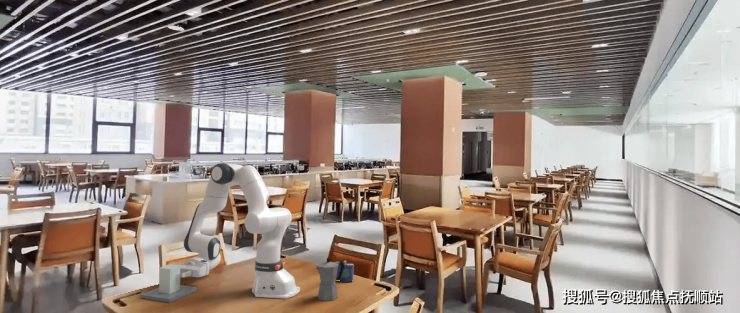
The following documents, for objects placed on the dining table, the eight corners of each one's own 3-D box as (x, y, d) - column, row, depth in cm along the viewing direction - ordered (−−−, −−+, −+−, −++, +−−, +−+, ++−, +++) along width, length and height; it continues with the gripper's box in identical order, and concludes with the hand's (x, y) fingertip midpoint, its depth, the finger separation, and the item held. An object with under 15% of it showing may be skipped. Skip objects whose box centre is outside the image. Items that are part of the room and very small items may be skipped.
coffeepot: (320, 303, 164) (321, 262, 164) (309, 297, 171) (310, 257, 171) (349, 296, 173) (350, 257, 173) (338, 290, 180) (339, 253, 181)
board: (196, 290, 176) (197, 277, 176) (170, 302, 161) (170, 288, 161) (169, 286, 181) (169, 274, 181) (140, 298, 165) (140, 284, 165)
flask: (353, 280, 196) (354, 260, 196) (353, 282, 193) (353, 261, 193) (336, 280, 196) (336, 259, 196) (335, 282, 193) (335, 261, 193)
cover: (179, 289, 173) (180, 265, 173) (169, 293, 167) (170, 269, 167) (169, 288, 175) (169, 264, 175) (158, 292, 169) (159, 267, 169)
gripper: (177, 258, 189) (154, 265, 175) (211, 262, 183) (191, 269, 170) (176, 270, 189) (154, 278, 175) (211, 274, 183) (190, 283, 170)
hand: (172, 274), depth 172 cm, fingers open, 8 cm apart
